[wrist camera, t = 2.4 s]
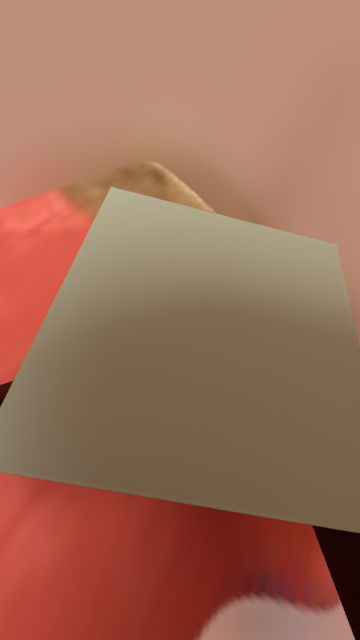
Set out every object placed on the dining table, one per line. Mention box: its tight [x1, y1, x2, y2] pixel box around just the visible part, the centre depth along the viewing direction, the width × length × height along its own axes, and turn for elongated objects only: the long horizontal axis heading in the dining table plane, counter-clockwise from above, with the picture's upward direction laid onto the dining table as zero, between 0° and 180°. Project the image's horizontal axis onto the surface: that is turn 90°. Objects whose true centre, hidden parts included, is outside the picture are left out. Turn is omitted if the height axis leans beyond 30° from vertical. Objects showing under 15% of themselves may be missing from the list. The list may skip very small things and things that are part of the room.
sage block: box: [0, 187, 360, 533], centre depth 10 cm, size 5×5×14 cm
